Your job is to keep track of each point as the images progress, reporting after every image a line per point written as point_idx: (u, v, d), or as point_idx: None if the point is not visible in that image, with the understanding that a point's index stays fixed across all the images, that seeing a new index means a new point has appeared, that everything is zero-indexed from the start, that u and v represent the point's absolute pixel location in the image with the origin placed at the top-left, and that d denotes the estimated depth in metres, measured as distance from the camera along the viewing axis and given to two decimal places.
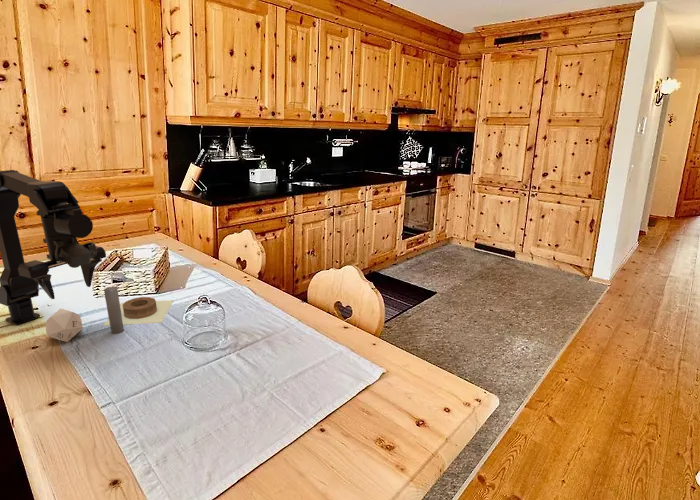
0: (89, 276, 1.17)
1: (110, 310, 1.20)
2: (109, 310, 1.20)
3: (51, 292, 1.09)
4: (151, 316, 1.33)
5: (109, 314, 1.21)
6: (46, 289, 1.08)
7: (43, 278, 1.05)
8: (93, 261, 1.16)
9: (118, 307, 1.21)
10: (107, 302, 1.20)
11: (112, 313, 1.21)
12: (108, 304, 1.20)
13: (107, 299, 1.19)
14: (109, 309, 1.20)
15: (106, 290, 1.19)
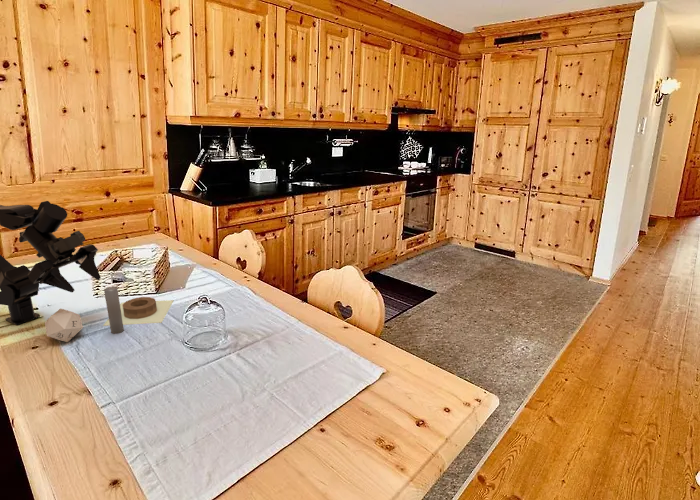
0: (94, 269, 1.26)
1: (110, 310, 1.20)
2: (109, 310, 1.20)
3: (68, 284, 1.17)
4: (151, 316, 1.33)
5: (109, 314, 1.21)
6: (62, 284, 1.16)
7: (52, 270, 1.14)
8: None
9: (118, 307, 1.21)
10: (107, 302, 1.20)
11: (112, 313, 1.21)
12: (108, 304, 1.20)
13: (107, 299, 1.19)
14: (109, 309, 1.20)
15: (106, 290, 1.19)
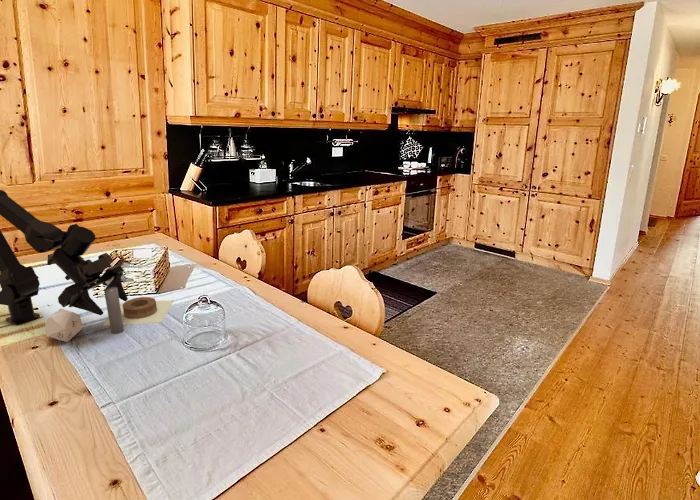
0: (121, 290, 1.26)
1: (110, 310, 1.20)
2: (109, 310, 1.20)
3: (97, 307, 1.17)
4: (151, 316, 1.33)
5: (109, 314, 1.21)
6: (91, 307, 1.16)
7: (82, 294, 1.14)
8: None
9: (118, 307, 1.21)
10: (107, 302, 1.20)
11: (112, 313, 1.21)
12: (108, 304, 1.20)
13: (107, 299, 1.19)
14: (109, 309, 1.20)
15: (106, 290, 1.19)
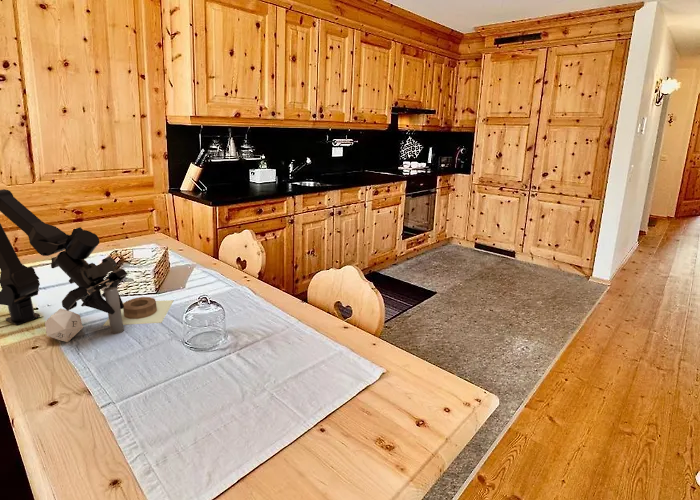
0: None
1: None
2: None
3: (109, 306, 1.19)
4: (151, 316, 1.33)
5: (109, 314, 1.21)
6: (103, 306, 1.19)
7: (94, 293, 1.17)
8: None
9: (118, 307, 1.21)
10: (107, 302, 1.20)
11: None
12: None
13: (107, 299, 1.19)
14: None
15: (106, 290, 1.19)
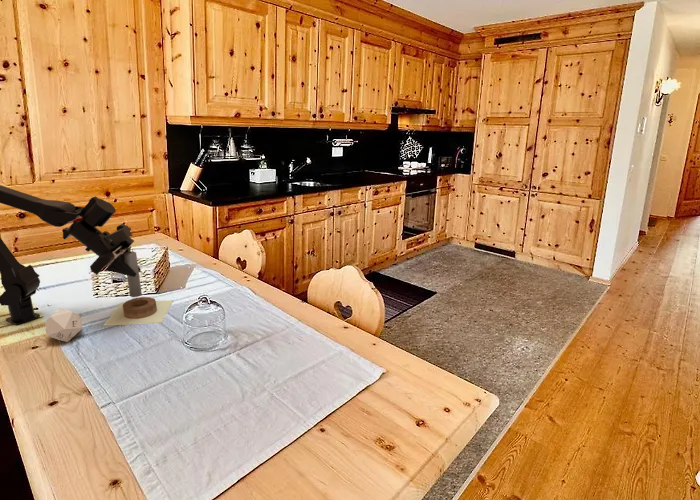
0: None
1: None
2: None
3: (131, 269, 1.27)
4: (151, 316, 1.33)
5: (130, 277, 1.29)
6: (126, 269, 1.27)
7: (119, 257, 1.24)
8: (126, 249, 1.31)
9: (138, 270, 1.30)
10: None
11: None
12: None
13: (128, 263, 1.27)
14: None
15: (127, 254, 1.27)
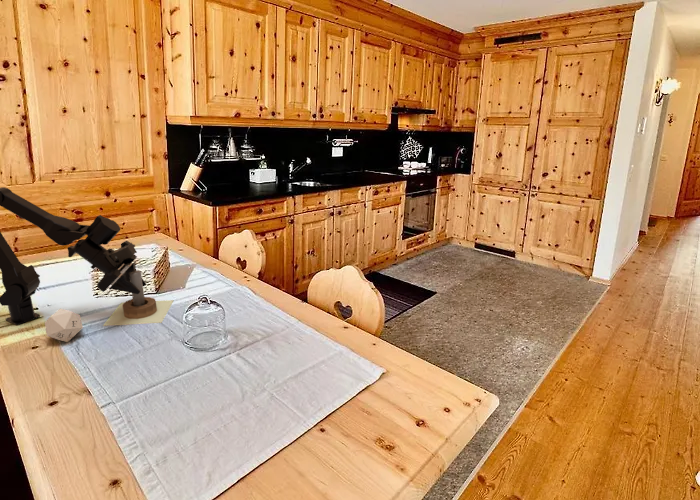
0: None
1: None
2: None
3: (135, 287, 1.29)
4: (151, 316, 1.33)
5: (135, 295, 1.32)
6: (130, 287, 1.29)
7: (123, 275, 1.26)
8: (131, 264, 1.35)
9: (142, 288, 1.33)
10: None
11: (139, 294, 1.32)
12: None
13: (133, 281, 1.31)
14: None
15: (132, 273, 1.30)
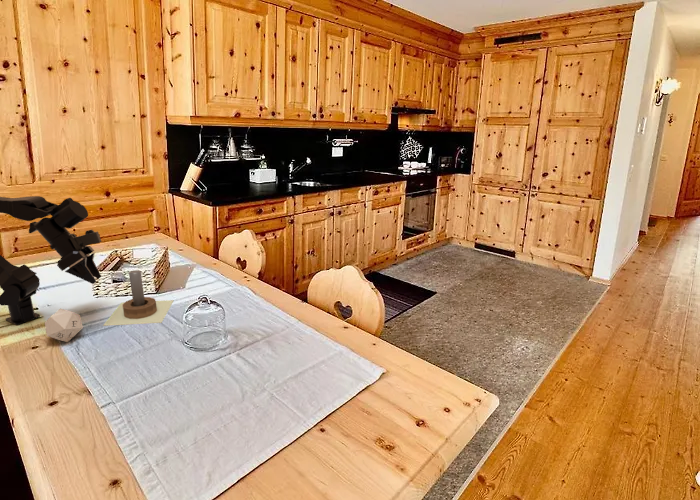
0: (96, 267, 1.32)
1: (136, 291, 1.32)
2: (135, 291, 1.32)
3: (92, 275, 1.24)
4: (151, 316, 1.33)
5: (135, 295, 1.32)
6: (87, 274, 1.23)
7: (85, 259, 1.21)
8: (91, 254, 1.33)
9: (142, 288, 1.33)
10: (133, 284, 1.31)
11: (139, 294, 1.32)
12: (134, 286, 1.31)
13: (133, 281, 1.31)
14: (135, 290, 1.32)
15: (132, 273, 1.30)
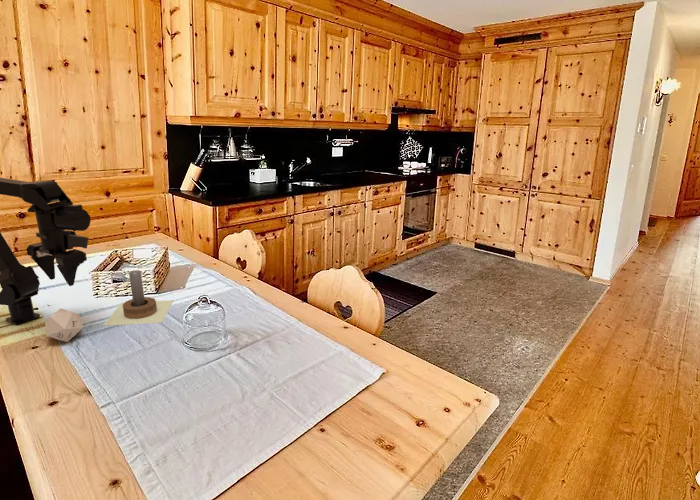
0: (54, 268, 1.26)
1: (136, 291, 1.32)
2: (135, 291, 1.32)
3: None
4: (151, 316, 1.33)
5: (135, 295, 1.32)
6: (72, 276, 1.21)
7: None
8: None
9: (142, 288, 1.33)
10: (133, 284, 1.31)
11: (139, 294, 1.32)
12: (134, 286, 1.31)
13: (133, 281, 1.31)
14: (135, 290, 1.32)
15: (132, 273, 1.30)
